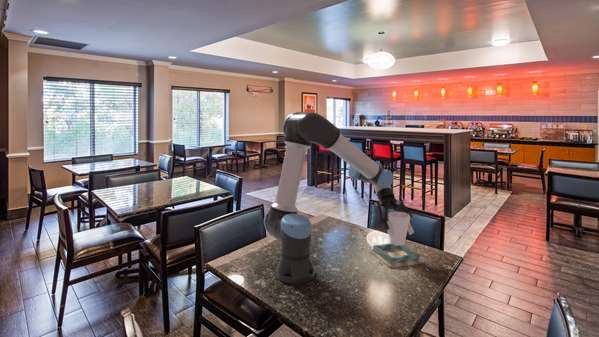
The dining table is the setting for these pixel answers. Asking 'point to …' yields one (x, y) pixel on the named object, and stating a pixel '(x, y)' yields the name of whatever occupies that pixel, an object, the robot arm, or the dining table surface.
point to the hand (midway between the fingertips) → (402, 234)
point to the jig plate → (396, 255)
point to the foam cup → (398, 227)
